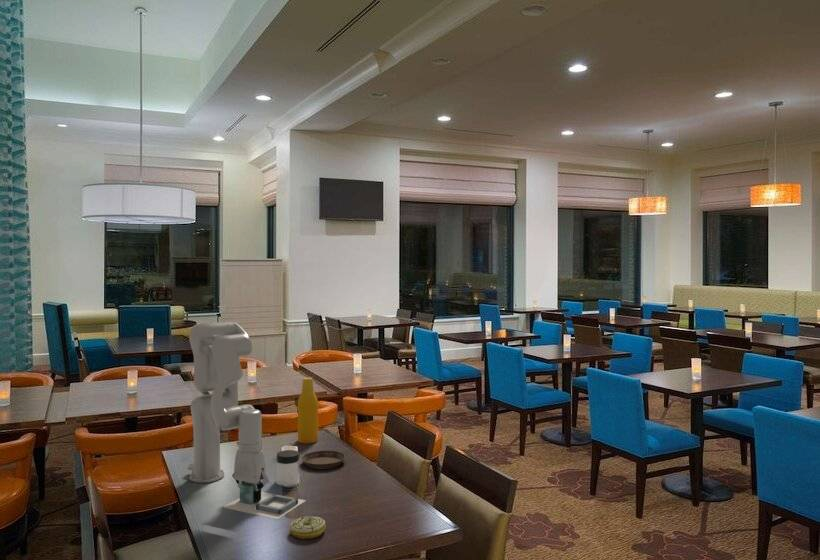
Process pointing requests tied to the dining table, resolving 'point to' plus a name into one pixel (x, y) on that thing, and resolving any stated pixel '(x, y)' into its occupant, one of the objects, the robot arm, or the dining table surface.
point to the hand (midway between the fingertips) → (250, 499)
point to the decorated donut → (307, 527)
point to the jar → (287, 467)
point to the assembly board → (267, 505)
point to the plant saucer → (323, 459)
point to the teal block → (247, 493)
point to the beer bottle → (307, 413)
